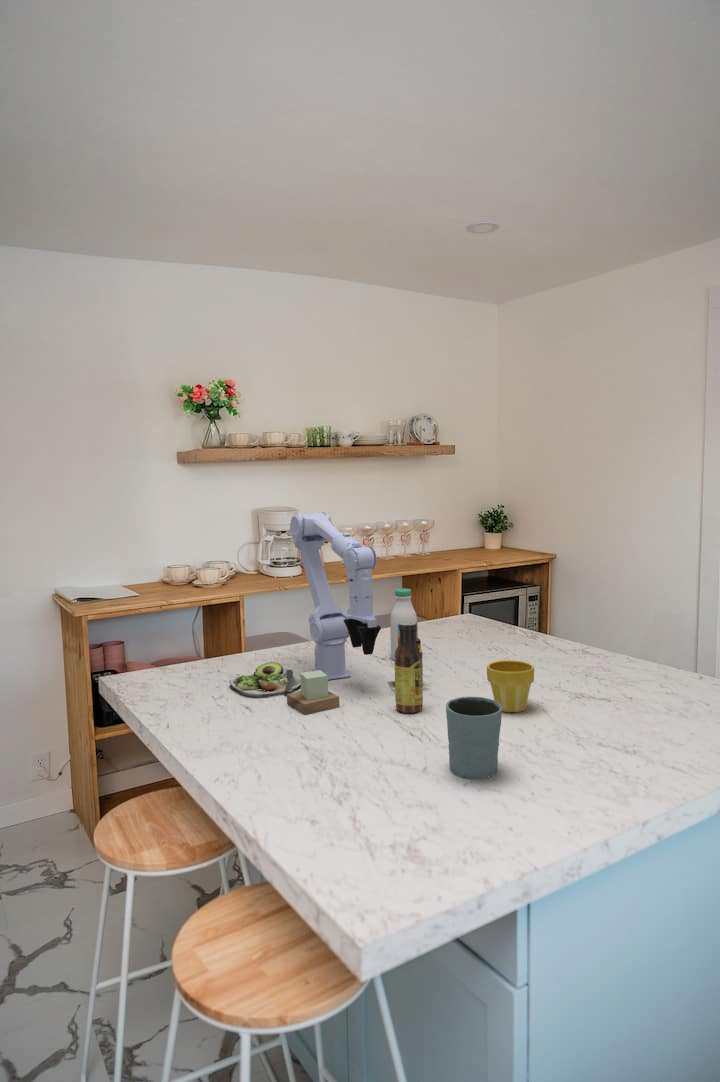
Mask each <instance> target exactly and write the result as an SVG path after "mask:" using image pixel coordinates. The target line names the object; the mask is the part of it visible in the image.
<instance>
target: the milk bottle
mask: <svg viewBox="0 0 720 1082" xmlns="http://www.w3.org/2000/svg"><path fill="white" fill-rule="evenodd" d="M394 594H395V596H394V597H395V603H394V607H393V610H392V611H391V614H390V625H389V627H390V657H391V660H392V661H395V651H396V649H397V647H398V646H399V644H400V642H399V640H400V631H399V623H401V622H415V623H416V626H417V629H416V638H419V636H418V634H419V633H418V631H419V630H418V616H417V613H416V611H415V608H414V606H413V603H412V589H411V588H404V587H403V588H396V589H395V591H394Z"/></svg>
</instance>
